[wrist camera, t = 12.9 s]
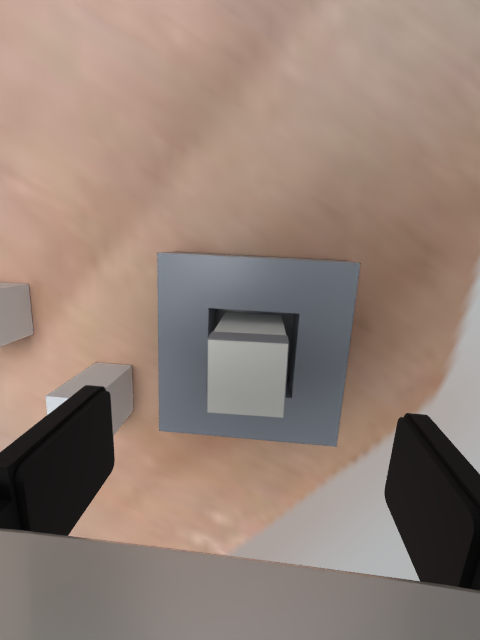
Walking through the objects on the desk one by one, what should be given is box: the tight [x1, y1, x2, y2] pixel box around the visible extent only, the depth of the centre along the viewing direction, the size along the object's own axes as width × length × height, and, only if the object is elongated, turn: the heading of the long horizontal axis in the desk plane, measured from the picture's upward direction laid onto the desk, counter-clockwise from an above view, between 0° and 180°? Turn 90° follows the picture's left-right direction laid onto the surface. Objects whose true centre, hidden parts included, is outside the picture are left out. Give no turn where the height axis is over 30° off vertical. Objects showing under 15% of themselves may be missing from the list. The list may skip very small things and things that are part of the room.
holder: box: [157, 252, 360, 447], centre depth 22 cm, size 12×12×4 cm
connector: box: [207, 312, 289, 418], centre depth 20 cm, size 4×4×7 cm
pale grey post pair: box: [0, 282, 133, 435], centre depth 23 cm, size 11×10×6 cm
